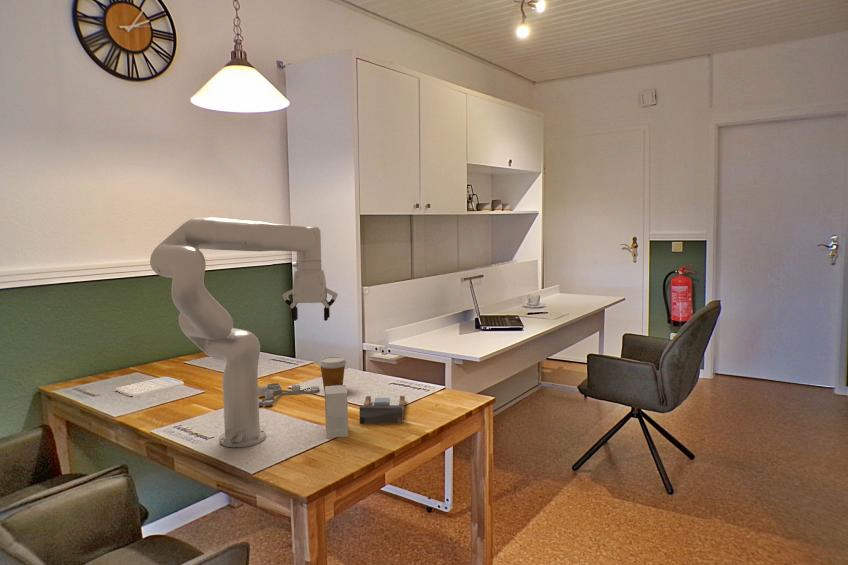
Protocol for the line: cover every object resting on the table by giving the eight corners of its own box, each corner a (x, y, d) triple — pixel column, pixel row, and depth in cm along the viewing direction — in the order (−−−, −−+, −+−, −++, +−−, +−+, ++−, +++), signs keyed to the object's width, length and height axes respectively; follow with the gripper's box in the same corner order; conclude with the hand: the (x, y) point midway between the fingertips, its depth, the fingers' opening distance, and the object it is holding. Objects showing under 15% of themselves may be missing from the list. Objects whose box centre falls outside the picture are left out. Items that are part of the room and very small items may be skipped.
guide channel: (402, 423, 178) (402, 407, 177) (359, 423, 178) (359, 407, 177) (404, 401, 199) (404, 387, 198) (366, 401, 199) (366, 387, 198)
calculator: (114, 392, 213) (114, 387, 212) (167, 379, 228) (166, 375, 228) (131, 399, 205) (131, 393, 204) (185, 385, 220) (185, 380, 220)
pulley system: (235, 404, 200) (261, 410, 191) (234, 390, 200) (261, 396, 190) (299, 388, 221) (325, 393, 212) (298, 376, 221) (325, 380, 211)
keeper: (389, 421, 180) (388, 402, 179) (374, 421, 180) (374, 402, 179) (389, 416, 184) (389, 397, 184) (375, 416, 184) (375, 397, 184)
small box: (325, 428, 174) (324, 385, 173) (346, 426, 175) (345, 384, 174) (326, 438, 166) (325, 394, 165) (348, 436, 167) (347, 392, 166)
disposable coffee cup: (350, 389, 213) (350, 357, 211) (340, 397, 204) (339, 363, 202) (326, 387, 215) (326, 355, 214) (315, 395, 206) (314, 361, 205)
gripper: (278, 267, 178) (280, 322, 180) (335, 267, 178) (336, 322, 180) (284, 265, 186) (286, 318, 188) (338, 264, 186) (339, 317, 188)
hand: (310, 320), depth 184 cm, fingers open, 9 cm apart
